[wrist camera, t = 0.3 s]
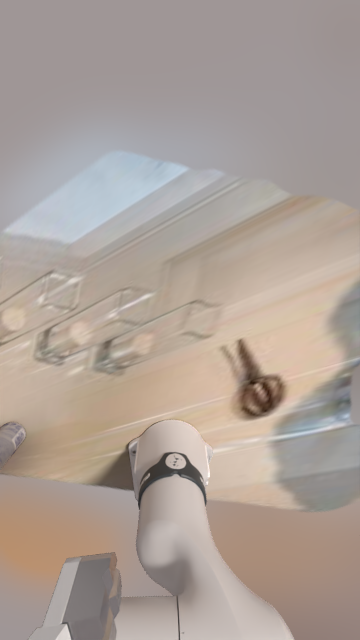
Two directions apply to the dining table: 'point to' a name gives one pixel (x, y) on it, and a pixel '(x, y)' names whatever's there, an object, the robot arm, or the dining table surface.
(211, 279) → the dining table surface
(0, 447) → the energy drink
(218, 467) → the dining table surface
